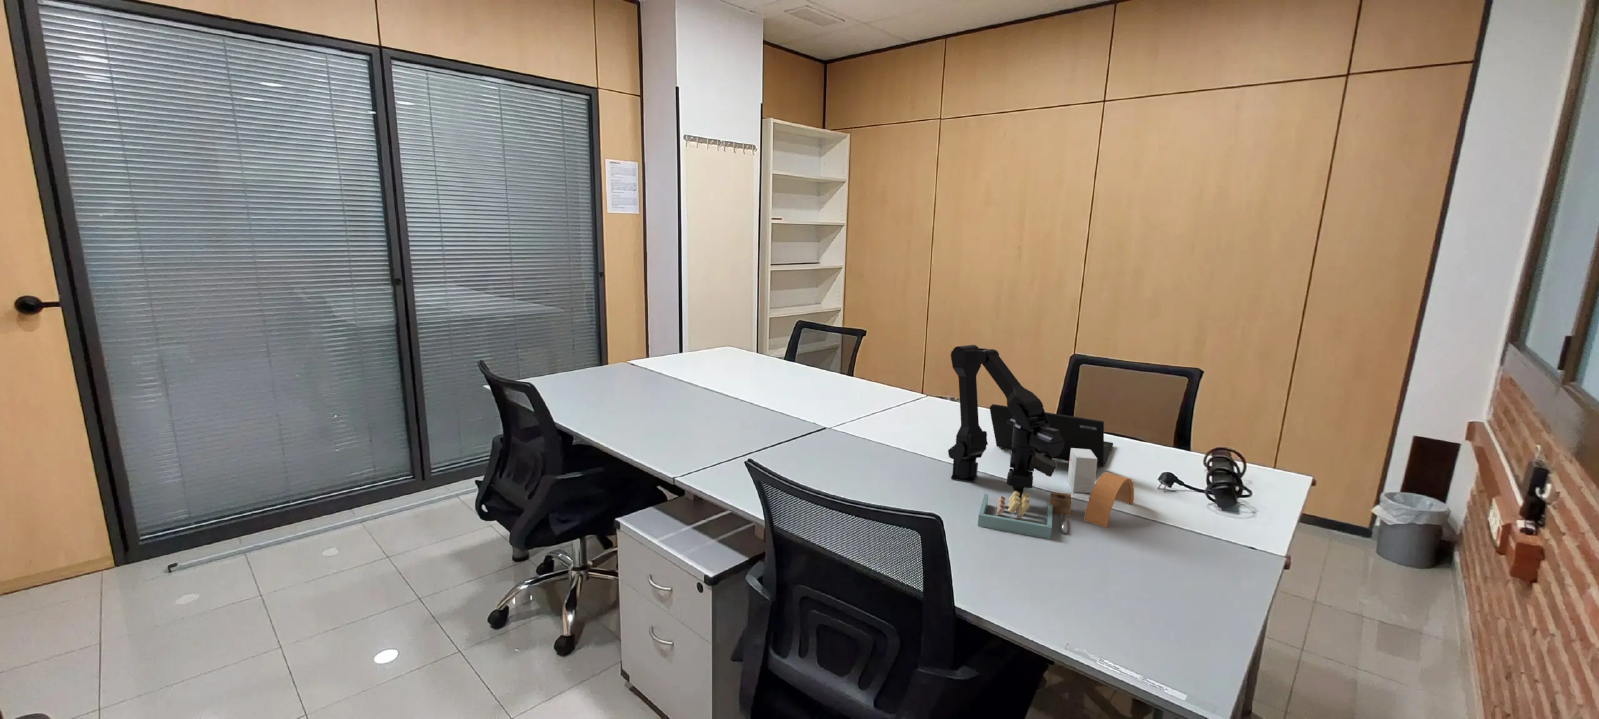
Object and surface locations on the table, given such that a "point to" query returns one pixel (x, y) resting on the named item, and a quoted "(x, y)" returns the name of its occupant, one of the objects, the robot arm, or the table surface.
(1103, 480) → the arch
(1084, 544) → the table surface
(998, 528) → the tray
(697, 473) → the table surface
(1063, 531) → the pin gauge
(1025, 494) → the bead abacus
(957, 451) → the robot arm
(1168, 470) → the table surface
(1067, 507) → the bored block
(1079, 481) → the small box
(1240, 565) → the table surface
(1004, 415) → the laptop
